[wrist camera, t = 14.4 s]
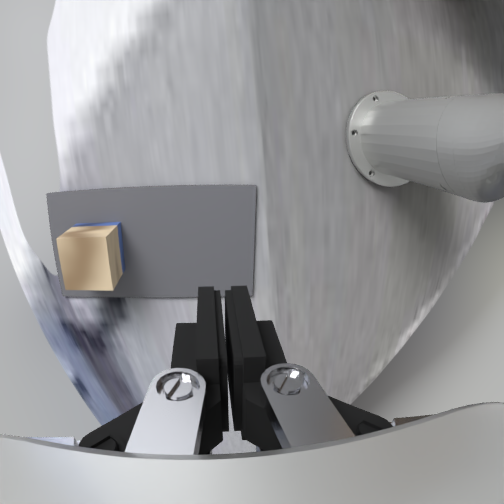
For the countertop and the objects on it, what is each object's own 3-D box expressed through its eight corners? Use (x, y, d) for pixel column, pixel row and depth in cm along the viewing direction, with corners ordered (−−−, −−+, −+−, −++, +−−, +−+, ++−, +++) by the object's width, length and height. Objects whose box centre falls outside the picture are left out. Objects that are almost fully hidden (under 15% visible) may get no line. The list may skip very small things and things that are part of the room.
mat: (255, 185, 37) (256, 185, 36) (252, 293, 41) (252, 295, 41) (48, 193, 33) (46, 193, 33) (63, 294, 38) (62, 296, 37)
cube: (56, 238, 29) (76, 223, 35) (65, 289, 31) (82, 269, 37) (105, 236, 30) (120, 221, 35) (113, 290, 32) (125, 268, 37)
